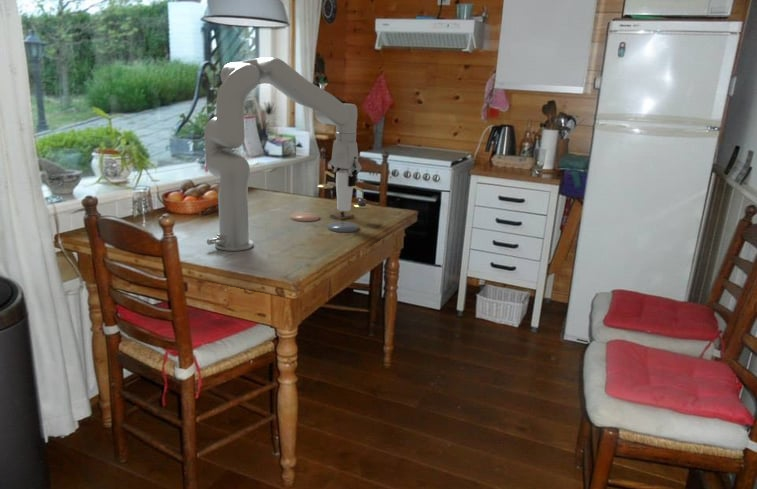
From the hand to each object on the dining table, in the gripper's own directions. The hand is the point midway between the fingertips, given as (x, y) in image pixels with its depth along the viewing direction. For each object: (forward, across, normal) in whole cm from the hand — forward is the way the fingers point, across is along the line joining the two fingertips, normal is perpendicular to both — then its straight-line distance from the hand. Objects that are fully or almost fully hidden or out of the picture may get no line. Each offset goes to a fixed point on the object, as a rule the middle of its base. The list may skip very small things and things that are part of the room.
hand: (344, 184), depth 212 cm
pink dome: (+18, -21, -1) cm, 27 cm away
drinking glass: (+10, 0, 0) cm, 10 cm away
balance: (+18, -12, +12) cm, 24 cm away
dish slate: (+18, 0, 0) cm, 18 cm away
